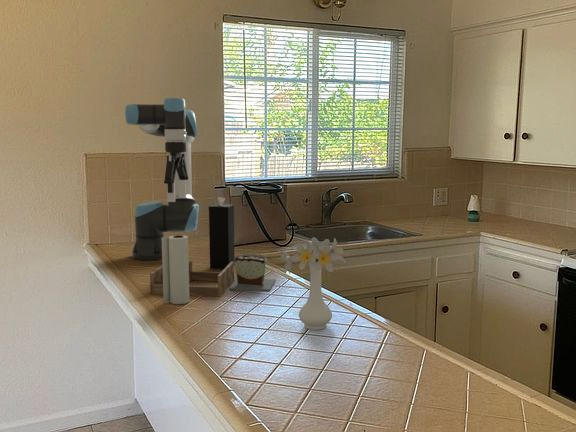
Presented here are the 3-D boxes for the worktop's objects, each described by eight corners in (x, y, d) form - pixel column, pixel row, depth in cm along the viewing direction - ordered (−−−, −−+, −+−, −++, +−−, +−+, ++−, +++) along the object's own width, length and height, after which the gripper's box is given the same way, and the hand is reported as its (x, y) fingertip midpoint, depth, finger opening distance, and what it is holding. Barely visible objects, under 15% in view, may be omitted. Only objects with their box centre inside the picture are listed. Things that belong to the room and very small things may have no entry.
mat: (237, 279, 222) (237, 277, 222) (275, 280, 220) (275, 279, 220) (229, 289, 208) (229, 288, 208) (269, 291, 207) (269, 289, 207)
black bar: (229, 270, 237) (227, 198, 232) (209, 269, 238) (208, 198, 234) (234, 265, 244) (233, 196, 240) (216, 264, 246) (214, 195, 241)
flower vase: (274, 325, 172) (273, 238, 168) (330, 316, 180) (331, 233, 176) (294, 339, 160) (295, 246, 157) (354, 329, 168) (355, 240, 165)
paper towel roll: (193, 300, 196) (191, 235, 192) (182, 305, 190) (180, 238, 187) (174, 298, 199) (172, 233, 195) (163, 303, 193) (161, 236, 190)
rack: (170, 278, 224) (169, 259, 223) (234, 280, 221) (233, 261, 220) (150, 293, 203) (150, 273, 202) (220, 296, 200) (220, 275, 199)
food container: (272, 282, 216) (272, 255, 214) (266, 287, 210) (266, 258, 208) (240, 279, 219) (240, 252, 218) (233, 284, 214) (233, 256, 212)
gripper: (175, 142, 208) (176, 204, 211) (195, 140, 232) (196, 195, 235) (153, 142, 209) (155, 203, 212) (176, 140, 233) (177, 195, 236)
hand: (177, 199), depth 224 cm, fingers open, 13 cm apart
